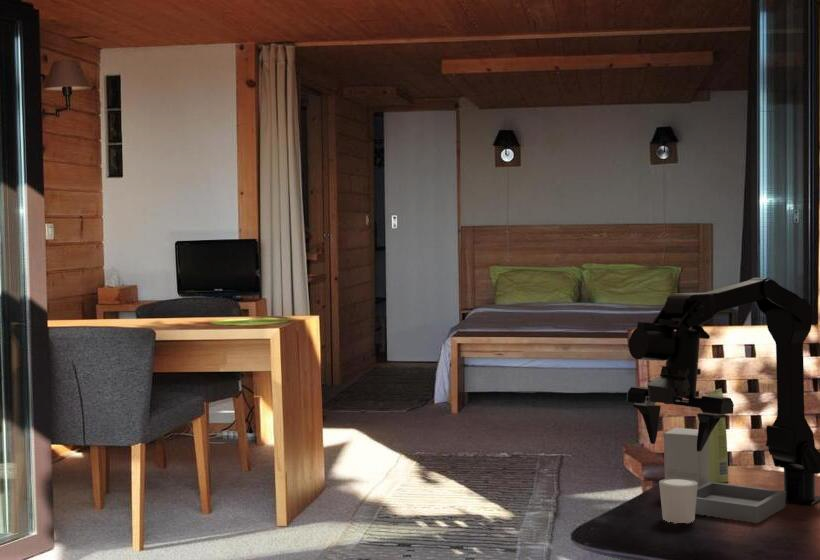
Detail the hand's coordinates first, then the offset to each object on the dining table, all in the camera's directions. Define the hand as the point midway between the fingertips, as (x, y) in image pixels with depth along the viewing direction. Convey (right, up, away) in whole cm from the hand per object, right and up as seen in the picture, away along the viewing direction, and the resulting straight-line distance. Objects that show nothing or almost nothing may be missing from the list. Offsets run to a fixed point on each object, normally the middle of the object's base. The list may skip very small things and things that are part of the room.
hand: (675, 447), depth 193 cm
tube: (+17, -12, +32) cm, 38 cm away
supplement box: (+8, -13, +22) cm, 26 cm away
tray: (+13, -13, +7) cm, 19 cm away
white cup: (+1, -13, 0) cm, 13 cm away
